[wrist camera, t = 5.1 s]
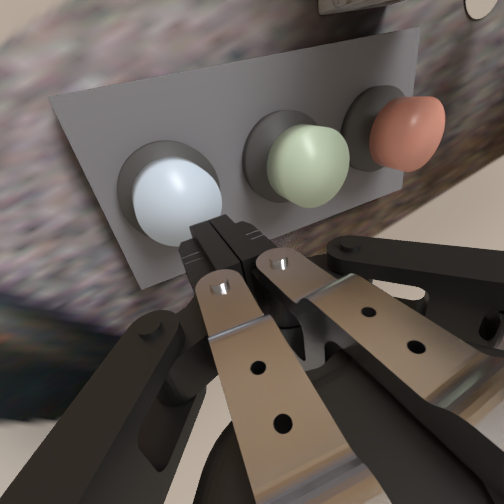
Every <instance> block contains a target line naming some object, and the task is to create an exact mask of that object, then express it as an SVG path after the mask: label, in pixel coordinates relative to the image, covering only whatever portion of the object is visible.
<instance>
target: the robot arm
mask: <svg viewBox="0 0 504 504" xmlns="http://www.w3.org/2000/svg"><path fill="white" fill-rule="evenodd" d="M189 229H190V232H191V235H192V239H189V240H186V241H183V242H181V243H180V246H179V249H178V252H179V254H180V257H181V260H182V263H183V265H184V268H185V271H186V274H187V276H188V279H189V282H190V284H191V286H192V289H193V291H194V293H195V295H194V297H193V299H192V301H191V302H190V303H189V304H188V305H187V306H186V307H185V308H184V309H182V310H181V311H180V312H178V313H177V314H175V313H173V312H171V311H167V310H158V311H153V312H150V313H148V314H145V315H143V316H142V317H140V318H138V319H137V320H136V321H134V322H133V323H132V324H131V325H130V327H129V328H128V329H127V330H126V332H125V333H124V334H123V336H122V337H121V338H120V340H119V341H118V342H117V344H116V345H115V346H114V348H113V349H112V350H111V352H110V353H109V354H108V356H107V357H106V358H105V360H104V361H103V362H102V363H101V365H100V366H99V367H98V369H97V370H96V371H95V373H94V374H93V375H92V377H91V378H90V379H89V381H88V382H87V383H86V385H85V386H84V387H83V389H82V390H81V391H80V393H79V394H78V395H77V397H76V398H75V399H74V401H73V402H72V403H71V405H70V406H69V407H68V409H67V410H66V411H65V413H64V414H63V415H62V417H61V418H60V419H59V421H58V422H57V423H56V425H55V426H54V427H53V429H52V430H51V431H50V433H49V434H48V435H47V437H46V438H45V439H44V441H43V442H42V443H41V445H40V446H39V447H38V449H37V450H36V451H35V452H34V454H33V455H32V456H31V458H30V459H29V460H28V462H27V463H26V464H25V466H24V467H23V468H22V470H21V471H20V472H19V474H18V475H17V476H16V478H15V479H14V481H13V482H12V483H11V484H10V486H9V487H8V488H7V490H6V491H5V492H4V494H3V495H2V497H1V498H0V504H164V501H165V499H166V496H167V493H168V491H169V488H170V486H171V483H172V480H173V478H174V475H175V473H176V470H177V467H178V465H179V462H180V460H181V457H182V454H183V452H184V449H185V447H186V444H187V442H188V439H189V436H190V434H191V431H192V428H193V426H194V423H195V421H196V418H197V416H198V413H199V410H200V408H201V405H202V403H203V400H204V397H205V394H206V385H207V384H208V383H209V382H210V381H212V380H213V379H214V378H215V377H216V376H217V375H218V374H219V378H220V381H221V385H222V388H223V391H224V394H225V398H226V401H227V405H228V409H229V412H230V415H231V419H232V421H231V422H230V423H229V425H228V426H227V427H226V428H225V429H224V431H223V432H222V434H221V435H220V436H219V438H218V439H217V440H216V442H215V444H214V446H213V448H212V450H211V451H210V453H209V456H208V458H207V460H206V463H205V465H204V468H203V471H202V474H201V477H200V480H199V484H198V487H197V491H196V494H195V498H194V501H193V504H504V251H497V250H488V249H479V248H469V247H459V246H450V245H439V244H429V243H420V242H411V241H401V240H391V239H382V238H372V237H362V236H341V237H338V238H335V239H333V240H331V241H330V242H329V243H328V244H327V254H323V255H317V256H312V257H304V256H303V255H301V254H300V253H299V252H297V251H295V250H293V249H290V248H278V247H277V246H276V245H275V244H273V243H272V242H271V241H270V240H269V239H268V238H267V237H266V236H265V235H263V234H262V233H261V232H260V231H258V229H257V228H256V227H255V226H253V225H252V224H250V223H247V222H244V221H240V222H237V223H234V222H233V221H232V220H231V219H230V218H229V217H228V216H227V215H226V214H224V215H221V216H218V217H215V218H212V219H209V220H208V221H207V220H206V221H203V222H200V223H197V224H194V225H191V226H189ZM373 279H374V280H380V281H386V282H392V283H398V284H404V285H410V286H416V287H420V288H422V289H423V290H425V291H426V292H425V296H424V297H423V298H422V299H420V300H407V299H402V298H397V297H392V296H391V295H389V294H388V293H386V292H384V291H383V290H381V289H379V288H378V287H376V286H375V285H373V284H372V281H373ZM263 314H264V315H263Z"/></svg>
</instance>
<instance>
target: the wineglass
mask: <svg viewBox="0 0 504 504" xmlns="http://www.w3.org/2000/svg"><path fill="white" fill-rule="evenodd" d="M496 2H497V0H465V6H466V11H467V13H468V15H469V16H470V17H471V18H472V19H475V20H477V19H481V18H483V17H485V16H486V15H487V14H488V13H489V12H490V11H491V10H492V9H493V7H494V6H495V4H496Z"/></svg>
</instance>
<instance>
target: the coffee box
mask: <svg viewBox="0 0 504 504" xmlns="http://www.w3.org/2000/svg"><path fill="white" fill-rule="evenodd" d="M401 1H404V0H318V7H319V14H320V15H326V14H334V13H340V12H348V11H355V10H362V9H369V8H376V7H382V6H388V5H392V4H395V3H398V2H401Z"/></svg>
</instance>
